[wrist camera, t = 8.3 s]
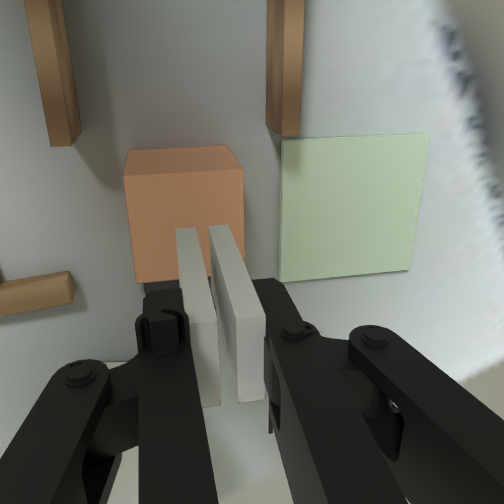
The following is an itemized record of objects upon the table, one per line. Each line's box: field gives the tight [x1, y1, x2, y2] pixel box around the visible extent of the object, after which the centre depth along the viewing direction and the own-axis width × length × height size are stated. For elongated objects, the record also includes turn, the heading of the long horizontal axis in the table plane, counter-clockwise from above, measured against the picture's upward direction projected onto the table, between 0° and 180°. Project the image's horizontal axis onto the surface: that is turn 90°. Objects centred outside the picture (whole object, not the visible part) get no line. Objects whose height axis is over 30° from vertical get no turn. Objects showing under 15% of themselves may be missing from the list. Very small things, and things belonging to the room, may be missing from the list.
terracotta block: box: [123, 145, 245, 283], centre depth 28 cm, size 6×6×6 cm
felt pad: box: [278, 133, 430, 282], centre depth 33 cm, size 10×10×1 cm
